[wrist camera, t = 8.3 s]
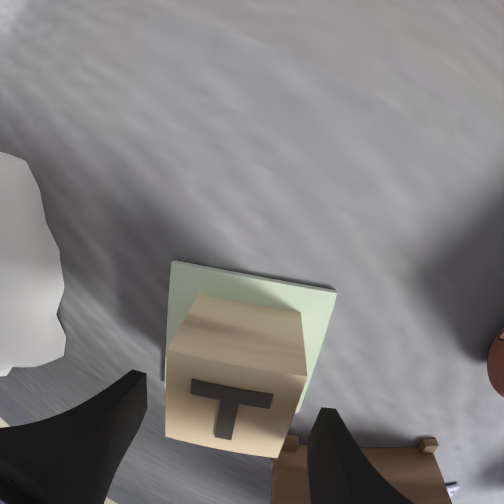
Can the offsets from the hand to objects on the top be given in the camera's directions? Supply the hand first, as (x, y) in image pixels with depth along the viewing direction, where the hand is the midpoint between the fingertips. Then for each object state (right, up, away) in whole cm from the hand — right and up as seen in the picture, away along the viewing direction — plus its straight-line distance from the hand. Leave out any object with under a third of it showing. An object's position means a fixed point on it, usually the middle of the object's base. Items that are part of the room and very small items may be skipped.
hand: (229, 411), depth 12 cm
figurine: (-20, +6, +6) cm, 21 cm away
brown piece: (+8, -8, +7) cm, 13 cm away
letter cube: (0, +2, +4) cm, 5 cm away
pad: (0, +1, +5) cm, 5 cm away
